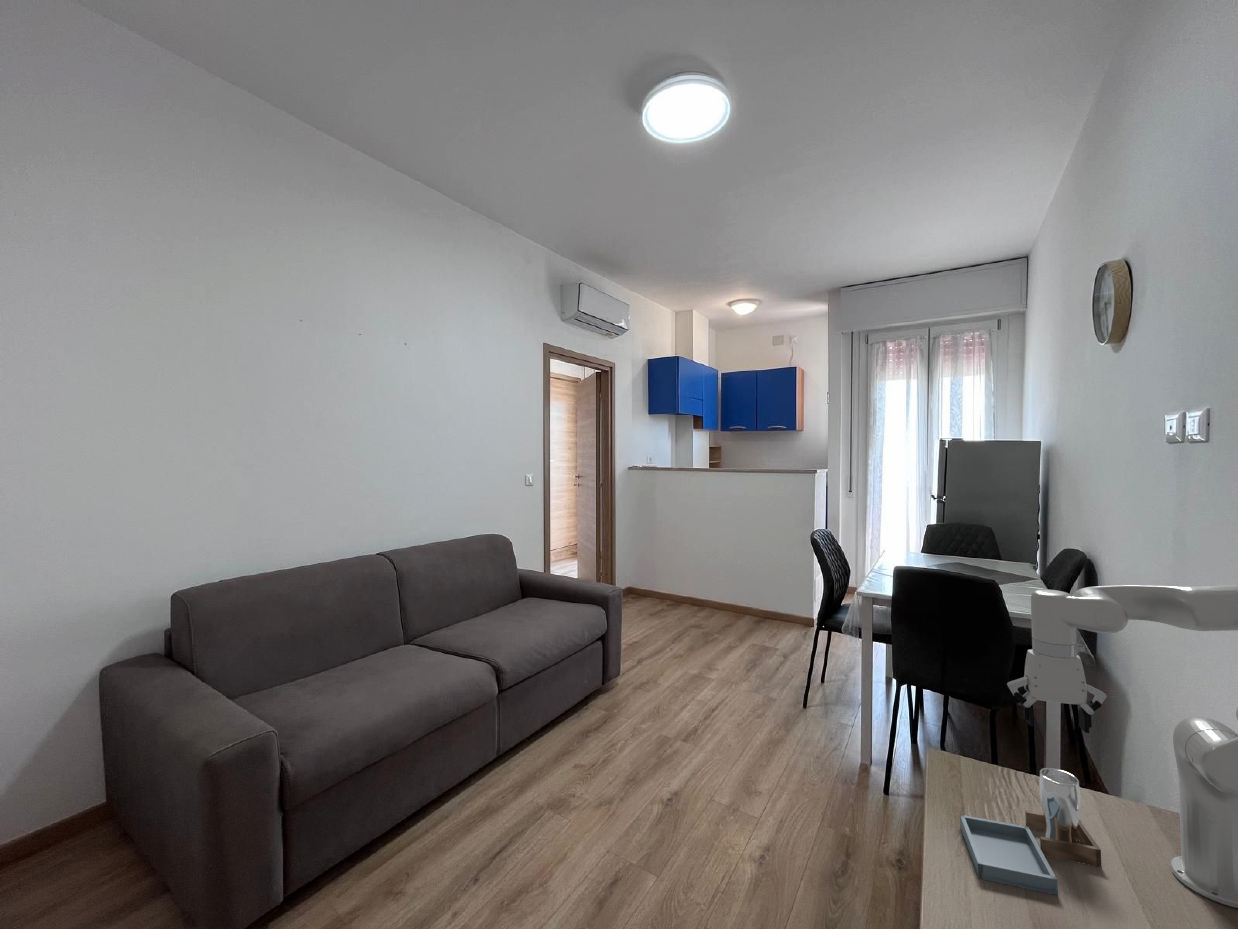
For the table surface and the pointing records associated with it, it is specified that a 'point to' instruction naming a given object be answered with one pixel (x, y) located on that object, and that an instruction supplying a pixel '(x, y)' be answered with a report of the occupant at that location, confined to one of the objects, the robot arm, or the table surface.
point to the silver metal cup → (1060, 804)
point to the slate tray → (1007, 854)
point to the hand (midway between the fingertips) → (1056, 726)
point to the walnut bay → (1066, 843)
